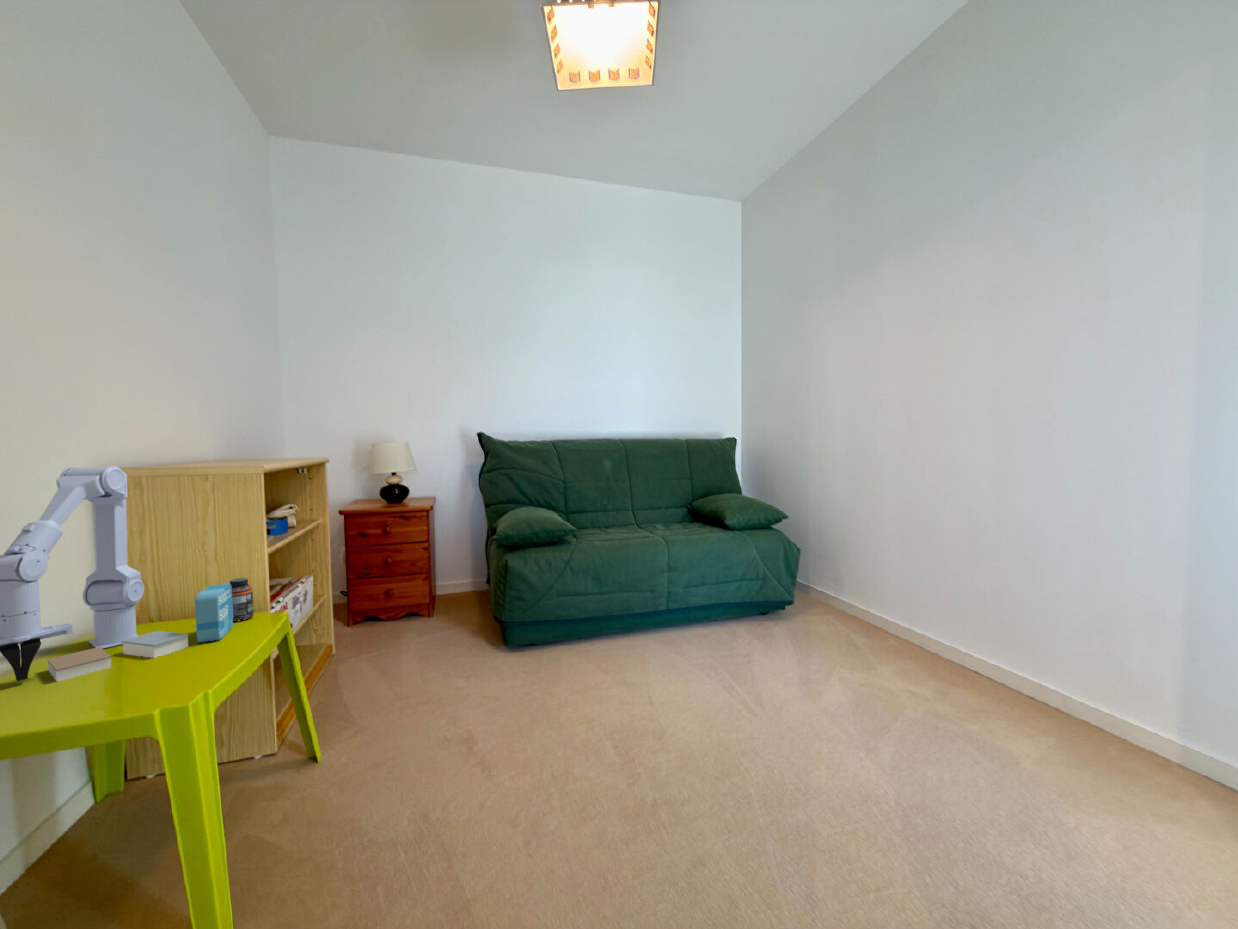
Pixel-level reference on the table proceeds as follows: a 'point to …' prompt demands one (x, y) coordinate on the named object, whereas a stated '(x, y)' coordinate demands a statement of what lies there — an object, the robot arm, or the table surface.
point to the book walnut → (78, 663)
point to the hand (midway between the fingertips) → (21, 679)
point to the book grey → (155, 644)
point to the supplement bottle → (241, 599)
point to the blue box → (213, 612)
